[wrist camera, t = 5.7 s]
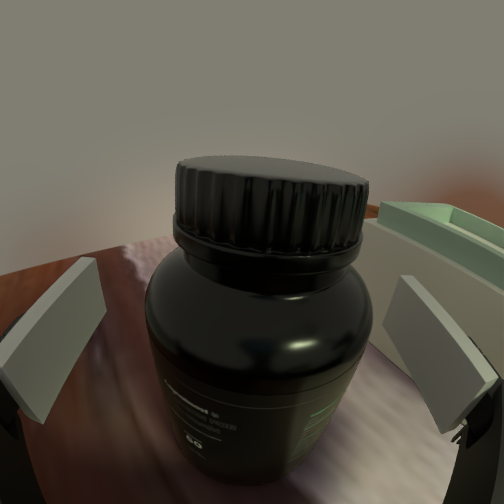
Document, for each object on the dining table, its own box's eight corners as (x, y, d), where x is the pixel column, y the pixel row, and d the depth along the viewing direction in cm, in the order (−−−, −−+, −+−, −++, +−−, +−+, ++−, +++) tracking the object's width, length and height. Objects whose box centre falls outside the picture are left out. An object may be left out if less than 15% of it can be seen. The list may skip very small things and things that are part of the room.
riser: (421, 281, 27) (444, 201, 23) (513, 343, 16) (553, 255, 12) (337, 314, 21) (365, 198, 17) (466, 427, 10) (555, 295, 6)
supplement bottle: (150, 416, 11) (99, 161, 7) (247, 362, 16) (266, 152, 11) (241, 514, 7) (312, 226, 2) (338, 427, 12) (432, 190, 7)
